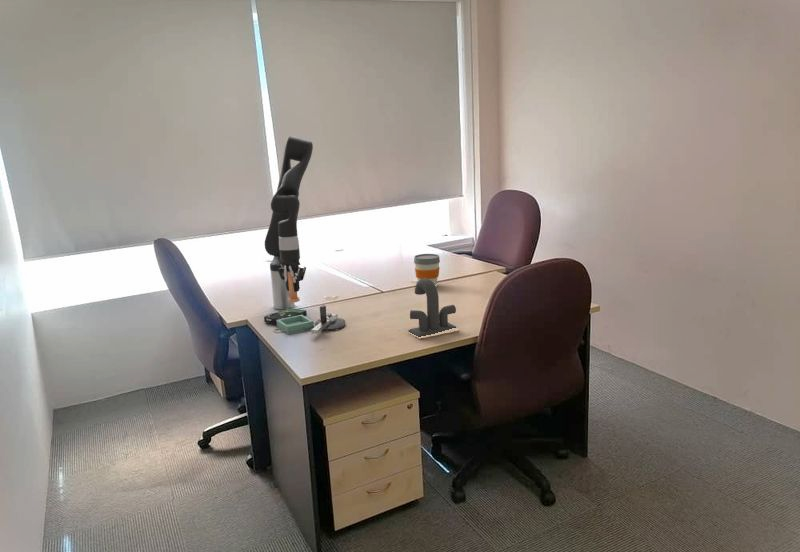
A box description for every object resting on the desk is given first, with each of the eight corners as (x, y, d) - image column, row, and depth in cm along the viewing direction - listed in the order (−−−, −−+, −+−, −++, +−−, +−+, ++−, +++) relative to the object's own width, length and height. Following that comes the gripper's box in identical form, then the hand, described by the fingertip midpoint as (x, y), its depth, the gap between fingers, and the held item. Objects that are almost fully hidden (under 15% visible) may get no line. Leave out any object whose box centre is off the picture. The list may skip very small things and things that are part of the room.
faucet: (438, 319, 234) (437, 271, 229) (459, 330, 220) (459, 279, 215) (398, 328, 226) (396, 278, 221) (418, 339, 212) (416, 287, 207)
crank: (329, 317, 236) (327, 298, 234) (340, 318, 235) (339, 298, 233) (308, 333, 217) (306, 313, 215) (320, 334, 216) (319, 313, 214)
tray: (277, 327, 232) (276, 320, 231) (302, 321, 238) (301, 314, 237) (287, 334, 223) (287, 327, 222) (313, 328, 229) (313, 321, 228)
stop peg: (286, 300, 228) (283, 271, 226) (296, 298, 231) (294, 269, 228) (291, 303, 225) (288, 272, 222) (301, 300, 227) (298, 271, 224)
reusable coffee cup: (445, 286, 284) (445, 256, 280) (426, 291, 276) (426, 260, 272) (428, 281, 293) (427, 252, 290) (409, 286, 285) (408, 256, 282)
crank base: (310, 325, 233) (310, 321, 232) (337, 319, 239) (336, 315, 239) (323, 333, 223) (323, 329, 223) (350, 326, 229) (350, 323, 229)
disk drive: (282, 326, 232) (307, 316, 244) (281, 320, 231) (306, 309, 243) (264, 323, 238) (289, 313, 250) (263, 316, 237) (289, 307, 249)
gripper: (268, 248, 223) (273, 291, 227) (296, 250, 216) (300, 295, 220) (282, 244, 229) (286, 286, 234) (309, 246, 222) (313, 290, 226)
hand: (293, 290), depth 227 cm, fingers closed on stop peg, 3 cm apart
